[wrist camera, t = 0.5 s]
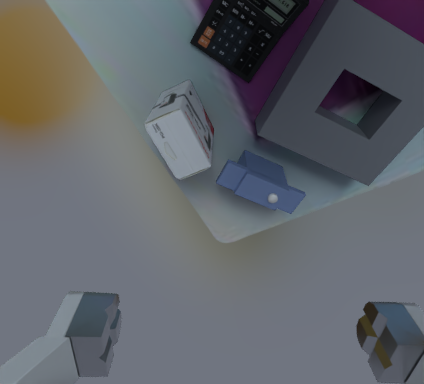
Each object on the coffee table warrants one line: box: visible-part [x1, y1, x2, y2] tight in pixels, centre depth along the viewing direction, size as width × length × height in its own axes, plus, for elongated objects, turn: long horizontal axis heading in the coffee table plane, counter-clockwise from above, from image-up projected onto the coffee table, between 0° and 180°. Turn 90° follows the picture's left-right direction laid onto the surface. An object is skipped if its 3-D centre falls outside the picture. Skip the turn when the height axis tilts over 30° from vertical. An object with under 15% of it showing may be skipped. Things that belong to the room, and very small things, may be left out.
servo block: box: [216, 150, 306, 214], centre depth 49 cm, size 4×13×8 cm, turn 65°
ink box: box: [145, 80, 214, 180], centre depth 42 cm, size 9×5×12 cm, turn 25°
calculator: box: [190, 0, 309, 83], centre depth 39 cm, size 9×12×3 cm
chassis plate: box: [255, 0, 424, 186], centre depth 42 cm, size 18×19×5 cm
